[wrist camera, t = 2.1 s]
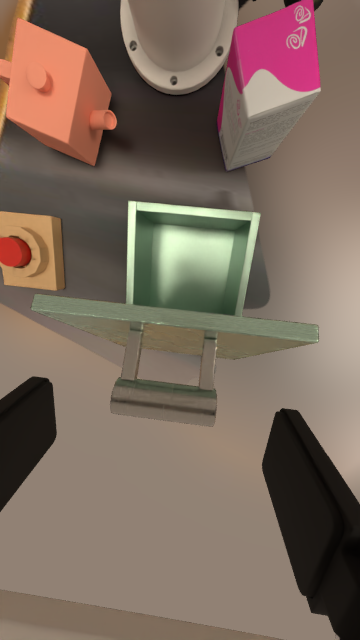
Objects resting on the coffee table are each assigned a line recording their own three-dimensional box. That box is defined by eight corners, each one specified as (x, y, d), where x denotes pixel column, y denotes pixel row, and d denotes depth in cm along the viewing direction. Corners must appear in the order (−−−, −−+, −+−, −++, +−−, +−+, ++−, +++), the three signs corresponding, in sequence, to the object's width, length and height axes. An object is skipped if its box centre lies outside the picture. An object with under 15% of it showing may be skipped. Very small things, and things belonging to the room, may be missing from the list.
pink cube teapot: (120, 179, 29) (92, 151, 21) (35, 142, 29) (-27, 99, 21) (139, 111, 27) (115, 51, 19) (46, 69, 26) (-19, -10, 18)
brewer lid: (33, 292, 10) (-1, 413, 9) (319, 324, 9) (322, 457, 8) (124, 339, 25) (116, 385, 24) (235, 352, 24) (232, 400, 23)
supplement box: (272, 157, 27) (323, 92, 16) (225, 173, 28) (243, 121, 17) (265, 102, 26) (315, -11, 15) (215, 120, 26) (228, 27, 16)
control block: (7, 213, 31) (-20, 207, 28) (60, 218, 31) (42, 213, 27) (16, 282, 34) (-7, 286, 31) (65, 288, 34) (48, 292, 30)
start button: (3, 236, 29) (-8, 235, 27) (30, 239, 29) (19, 238, 27) (7, 264, 30) (-4, 265, 28) (33, 267, 30) (23, 268, 28)
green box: (149, 216, 30) (128, 200, 21) (240, 225, 30) (261, 212, 20) (144, 317, 35) (125, 341, 25) (224, 326, 34) (234, 354, 25)
